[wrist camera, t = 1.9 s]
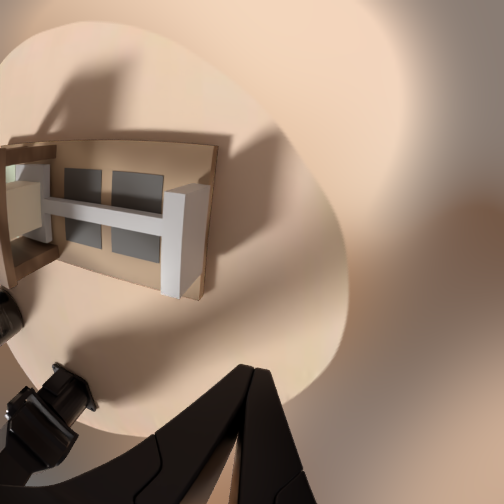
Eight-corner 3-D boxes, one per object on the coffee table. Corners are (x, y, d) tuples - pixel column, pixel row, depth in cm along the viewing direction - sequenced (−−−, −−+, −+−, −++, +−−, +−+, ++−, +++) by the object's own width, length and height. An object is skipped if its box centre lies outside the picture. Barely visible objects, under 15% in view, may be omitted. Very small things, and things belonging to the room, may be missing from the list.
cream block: (42, 226, 21) (9, 239, 17) (19, 220, 21) (-10, 232, 18) (40, 182, 19) (5, 190, 16) (18, 180, 20) (-14, 188, 16)
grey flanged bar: (201, 278, 20) (179, 306, 16) (24, 232, 23) (-4, 244, 19) (211, 177, 18) (186, 184, 14) (21, 163, 20) (-10, 169, 16)
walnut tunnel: (61, 260, 23) (9, 289, 17) (24, 247, 24) (-22, 270, 17) (58, 142, 19) (-4, 149, 13) (20, 144, 20) (-33, 152, 14)
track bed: (203, 294, 22) (198, 301, 21) (10, 238, 25) (4, 241, 24) (218, 146, 18) (213, 146, 17) (7, 144, 21) (0, 145, 20)
